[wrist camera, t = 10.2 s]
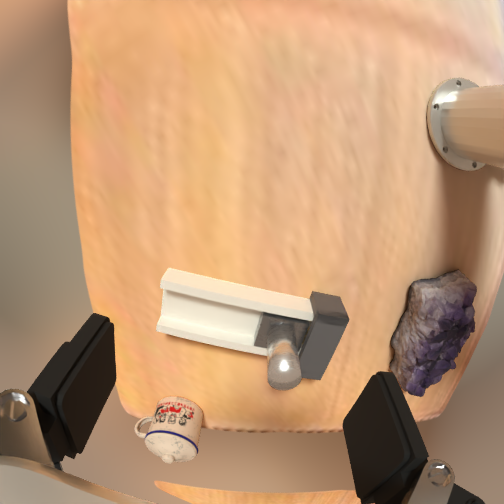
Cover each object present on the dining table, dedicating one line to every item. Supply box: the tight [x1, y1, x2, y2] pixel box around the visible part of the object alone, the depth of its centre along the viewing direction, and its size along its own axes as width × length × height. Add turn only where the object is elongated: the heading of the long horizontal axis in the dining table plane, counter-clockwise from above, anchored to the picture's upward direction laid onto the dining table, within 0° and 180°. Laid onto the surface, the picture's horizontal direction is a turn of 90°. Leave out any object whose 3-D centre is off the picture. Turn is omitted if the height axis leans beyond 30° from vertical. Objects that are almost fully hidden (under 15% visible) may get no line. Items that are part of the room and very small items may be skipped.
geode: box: [390, 270, 477, 397], centre depth 38 cm, size 20×12×10 cm, turn 176°
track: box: [156, 268, 349, 380], centre depth 39 cm, size 24×10×6 cm, turn 77°
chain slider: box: [254, 312, 310, 390], centre depth 36 cm, size 10×5×10 cm, turn 77°
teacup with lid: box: [135, 396, 203, 463], centre depth 45 cm, size 12×9×12 cm
